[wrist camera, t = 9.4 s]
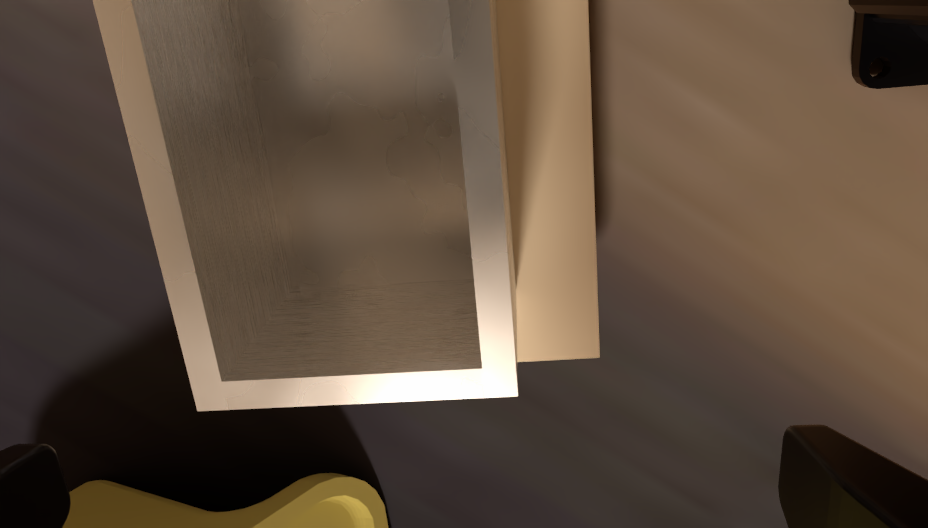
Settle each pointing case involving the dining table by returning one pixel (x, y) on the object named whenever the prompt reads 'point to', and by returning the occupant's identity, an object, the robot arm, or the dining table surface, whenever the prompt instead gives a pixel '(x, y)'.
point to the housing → (324, 194)
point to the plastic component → (264, 524)
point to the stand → (550, 175)
